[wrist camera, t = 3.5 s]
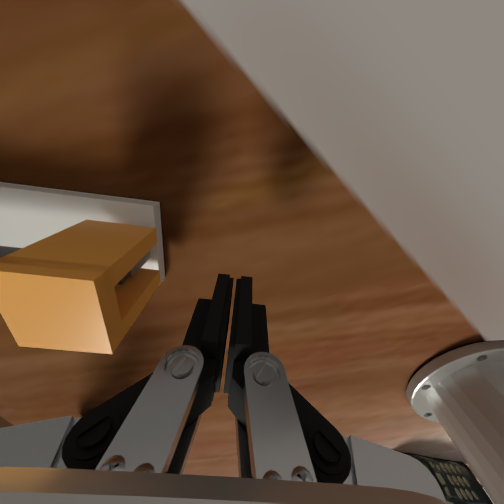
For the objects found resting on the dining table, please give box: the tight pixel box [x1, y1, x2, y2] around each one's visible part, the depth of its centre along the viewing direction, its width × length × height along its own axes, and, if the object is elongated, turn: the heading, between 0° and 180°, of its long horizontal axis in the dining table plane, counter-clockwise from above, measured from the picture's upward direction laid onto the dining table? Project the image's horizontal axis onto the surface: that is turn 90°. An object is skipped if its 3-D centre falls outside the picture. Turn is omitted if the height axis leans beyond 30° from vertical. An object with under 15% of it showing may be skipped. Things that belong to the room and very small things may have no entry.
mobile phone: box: [406, 454, 493, 504], centre depth 29 cm, size 5×3×15 cm
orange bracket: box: [0, 219, 161, 354], centre depth 11 cm, size 4×4×6 cm
